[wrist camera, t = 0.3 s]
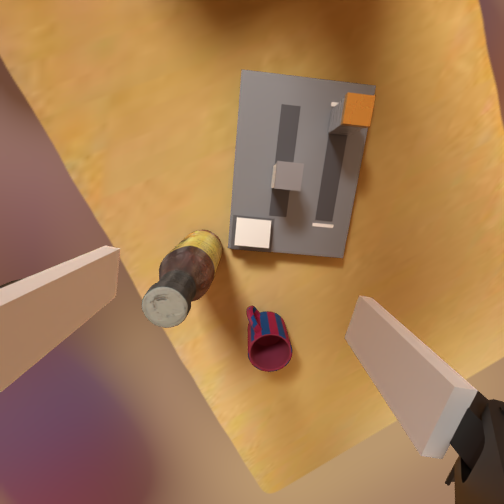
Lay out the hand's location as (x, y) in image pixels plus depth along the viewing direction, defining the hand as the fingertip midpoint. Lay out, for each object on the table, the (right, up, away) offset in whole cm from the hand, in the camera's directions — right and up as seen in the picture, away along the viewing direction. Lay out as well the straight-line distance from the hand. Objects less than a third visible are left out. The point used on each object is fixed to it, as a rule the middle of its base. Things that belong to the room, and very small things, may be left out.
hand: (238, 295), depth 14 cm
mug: (+3, -10, +31) cm, 32 cm away
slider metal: (+13, +20, +21) cm, 31 cm away
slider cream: (+5, +13, +22) cm, 26 cm away
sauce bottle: (-7, +3, +27) cm, 28 cm away
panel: (+7, +14, +24) cm, 29 cm away
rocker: (+1, +5, +25) cm, 25 cm away
